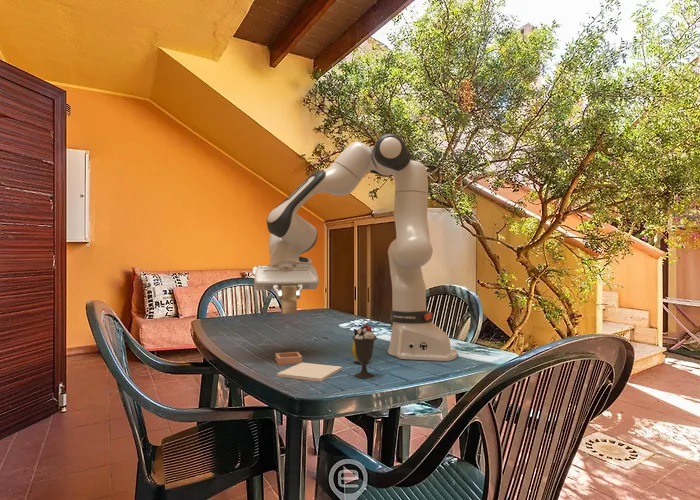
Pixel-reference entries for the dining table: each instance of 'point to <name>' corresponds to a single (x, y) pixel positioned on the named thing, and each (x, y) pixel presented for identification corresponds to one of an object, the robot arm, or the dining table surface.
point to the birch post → (289, 299)
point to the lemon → (355, 352)
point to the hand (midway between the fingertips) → (288, 298)
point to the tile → (310, 372)
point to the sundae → (364, 348)
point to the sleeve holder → (288, 358)
